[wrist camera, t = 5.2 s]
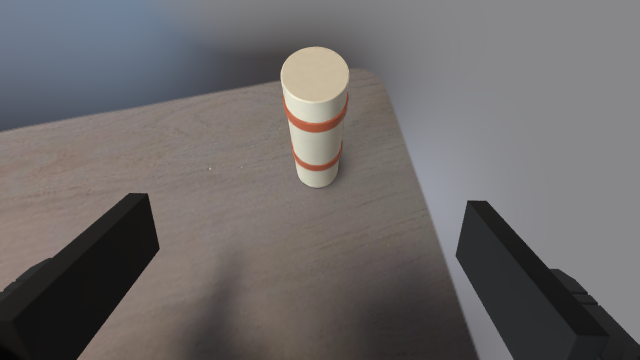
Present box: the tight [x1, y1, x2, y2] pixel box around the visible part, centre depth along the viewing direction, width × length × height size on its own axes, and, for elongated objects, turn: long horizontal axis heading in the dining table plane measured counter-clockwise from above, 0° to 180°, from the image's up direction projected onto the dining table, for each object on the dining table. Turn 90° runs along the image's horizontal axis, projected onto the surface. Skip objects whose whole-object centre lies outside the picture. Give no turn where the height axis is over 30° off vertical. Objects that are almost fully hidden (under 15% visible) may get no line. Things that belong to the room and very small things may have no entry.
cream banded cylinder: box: [281, 47, 349, 188], centre depth 24 cm, size 4×4×13 cm
